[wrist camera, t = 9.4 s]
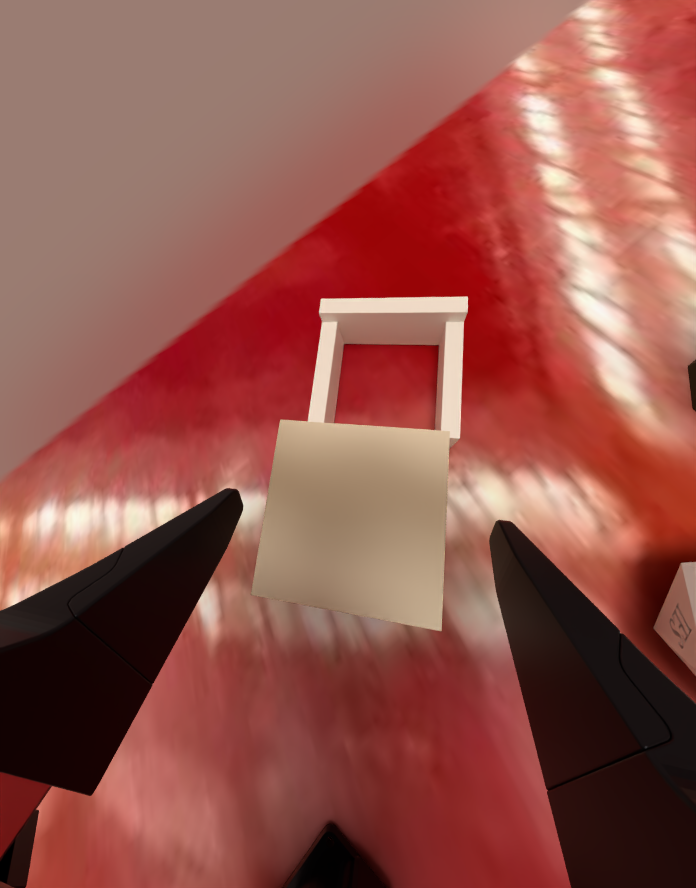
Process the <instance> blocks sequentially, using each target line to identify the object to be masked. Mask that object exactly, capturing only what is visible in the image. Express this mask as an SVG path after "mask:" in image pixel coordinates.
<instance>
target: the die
mask: <svg viewBox="0 0 696 888" xmlns="http://www.w3.org/2000/svg"><path fill="white" fill-rule="evenodd" d="M653 629H654V630H655V631H656V632H657V633H658V634H659V635H660V637H661V638H662V639H663V640H664V641H665V642H666V643H667V644H668V646H669V647H670V648H671V649H672V650H673V651H674V652H675V653H676V654H677V656H678V657H679V658H680V659H681V660H682V661H683V662H684V663H685V664H686V665H687V666H688V668H689V669H690V670H691V671H692V672H693V674H694V675H695V676H696V562H685V563H681V564H680V567H679V569H678V571H677V574H676V576H675V578H674V581H673V583H672V585H671V588H670V590H669V592H668V595H667V597H666V599H665V602H664V604H663V606H662V609H661V611H660V613H659V616H658V618H657V620H656V623H655V625H654V627H653Z"/></svg>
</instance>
